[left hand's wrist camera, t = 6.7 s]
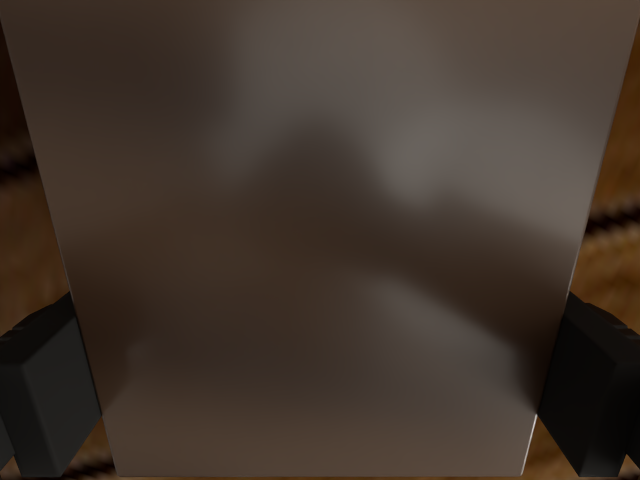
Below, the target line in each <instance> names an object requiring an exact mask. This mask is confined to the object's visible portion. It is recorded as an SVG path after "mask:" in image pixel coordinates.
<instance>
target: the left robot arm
mask: <svg viewBox="0 0 640 480" xmlns="http://www.w3.org/2000/svg"><path fill="white" fill-rule="evenodd" d="M101 416H102V414H101V410H100V406H99V402H98V398H97V395H96V391H95V387H94V383H93V379H92V375H91V371H90V367H89V363H88V360H87V356H86V352H85V348H84V344H83V340H82V336H81V332H80V328H79V324H78V321H77V317H76V313H75V309H74V305H73V301H72V297H71V293H70V291H69V292H68V293H67V294H65V295H64V296H63V297H62V298H60V299H59V300H58V301H57V302H55V303H54V304H51V305H48V306H46V307H44V308H42V309H40V310H38V311H36V312H34V313H32V314H30V315H28V316H27V317H26V318H24V319H23V320H22V321H21V322H19V323H18V324H17V325H15V326H14V327H13V329H12V330H9V331H8V332H6V333H5V334H4V335H2V336H1V337H0V471H1V470H2V468H3V467H4V466H5V465H6V464H7V462H8V461H9V460H10V459H11V458H12V456H13V455H14V458H15V460H16V463H17V465H18V468H19V471H20V473H21V476H22V477H61V475H62V474H63V472H64V471H65V469H66V468H67V466H68V465H69V463H70V462H71V460H72V459H73V457H74V456H75V454H76V453H77V451H78V450H79V449H80V447H81V446H82V444H83V443H84V441H85V440H86V438H87V437H88V435H89V434H90V432H91V431H92V429H93V428H94V426H95V425H96V423H97V422H98V420H99V419H100V417H101ZM538 416H539V418H540V419H541V421H542V422H543V424H544V425H545V427H546V428H547V430H548V431H549V433H550V434H551V436H552V437H553V439H554V440H555V442H556V443H557V445H558V446H559V448H560V449H561V451H562V452H563V454H564V455H565V457H566V458H567V460H568V461H569V463H570V464H571V466H572V467H573V469H574V470H575V472H576V473H577V474H578V476H579V477H618V474H619V472H620V469H621V466H622V464H623V461H624V459H625V456H626V454H627V455H628V456H629V457H630V458H631V459H632V461H633V462H634V463H635V464H636V465H637V467H638V468H639V469H640V335H638V334H637V333H636V332H634V331H633V330H632V329H628V328H627V325H625V324H624V323H623V322H621V321H620V320H619V319H617V318H616V317H615V316H614V315H612V314H611V313H609V312H607V311H605V310H603V309H601V308H598V307H596V306H594V305H592V304H590V303H584V302H583V301H582V300H580V299H579V298H578V297H577V296H575V295H574V294H573V293H572V292H570V291H569V294H568V298H567V302H566V306H565V310H564V314H563V318H562V322H561V326H560V329H559V333H558V337H557V341H556V345H555V349H554V353H553V357H552V360H551V364H550V368H549V372H548V376H547V380H546V384H545V388H544V392H543V395H542V399H541V403H540V407H539V411H538ZM0 480H2V478H1V476H0ZM638 480H640V476H639V478H638Z"/></svg>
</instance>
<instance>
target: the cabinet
mask: <svg viewBox="0 0 640 480" xmlns="http://www.w3.org/2000/svg"><path fill="white" fill-rule="evenodd" d="M639 18H640V0H0V21H1V25H2V28H3V32H4V36H5V40H6V44H7V48H8V52H9V56H10V60H11V64H12V67H13V71H14V75H15V79H16V83H17V87H18V91H19V95H20V99H21V102H22V106H23V110H24V114H25V118H26V122H27V126H28V130H29V134H30V138H31V141H32V145H33V149H34V153H35V157H36V161H37V165H38V169H39V173H40V176H41V180H42V184H43V188H44V192H45V196H46V200H47V204H48V208H49V212H50V215H51V219H52V223H53V227H54V231H55V235H56V239H57V243H58V247H59V250H60V254H61V258H62V262H63V266H64V270H65V274H66V278H67V282H68V286H69V289H70V293H71V297H72V301H73V305H74V309H75V313H76V317H77V321H78V324H79V328H80V332H81V336H82V340H83V344H84V348H85V352H86V356H87V360H88V363H89V367H90V371H91V375H92V379H93V383H94V387H95V391H96V395H97V398H98V402H99V406H100V410H101V414H102V418H103V422H104V426H105V430H106V434H107V437H108V441H109V445H110V449H111V453H112V457H113V461H114V465H115V469H116V472H117V475H118V476H119V477H516V476H521V475H522V473H523V469H524V465H525V462H526V458H527V454H528V450H529V446H530V442H531V438H532V434H533V430H534V427H535V423H536V419H537V415H538V411H539V407H540V403H541V399H542V395H543V392H544V388H545V384H546V380H547V376H548V372H549V368H550V364H551V360H552V357H553V353H554V349H555V345H556V341H557V337H558V333H559V329H560V326H561V322H562V318H563V314H564V310H565V306H566V302H567V298H568V294H569V291H570V287H571V283H572V279H573V275H574V271H575V267H576V263H577V259H578V256H579V252H580V248H581V244H582V240H583V236H584V232H585V228H586V224H587V221H588V217H589V213H590V209H591V205H592V201H593V197H594V193H595V189H596V186H597V182H598V178H599V174H600V170H601V166H602V162H603V158H604V154H605V151H606V147H607V143H608V139H609V135H610V131H611V127H612V123H613V119H614V116H615V112H616V108H617V104H618V100H619V96H620V92H621V88H622V84H623V81H624V77H625V73H626V69H627V65H628V61H629V57H630V53H631V49H632V46H633V42H634V38H635V34H636V30H637V26H638V22H639Z"/></svg>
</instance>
